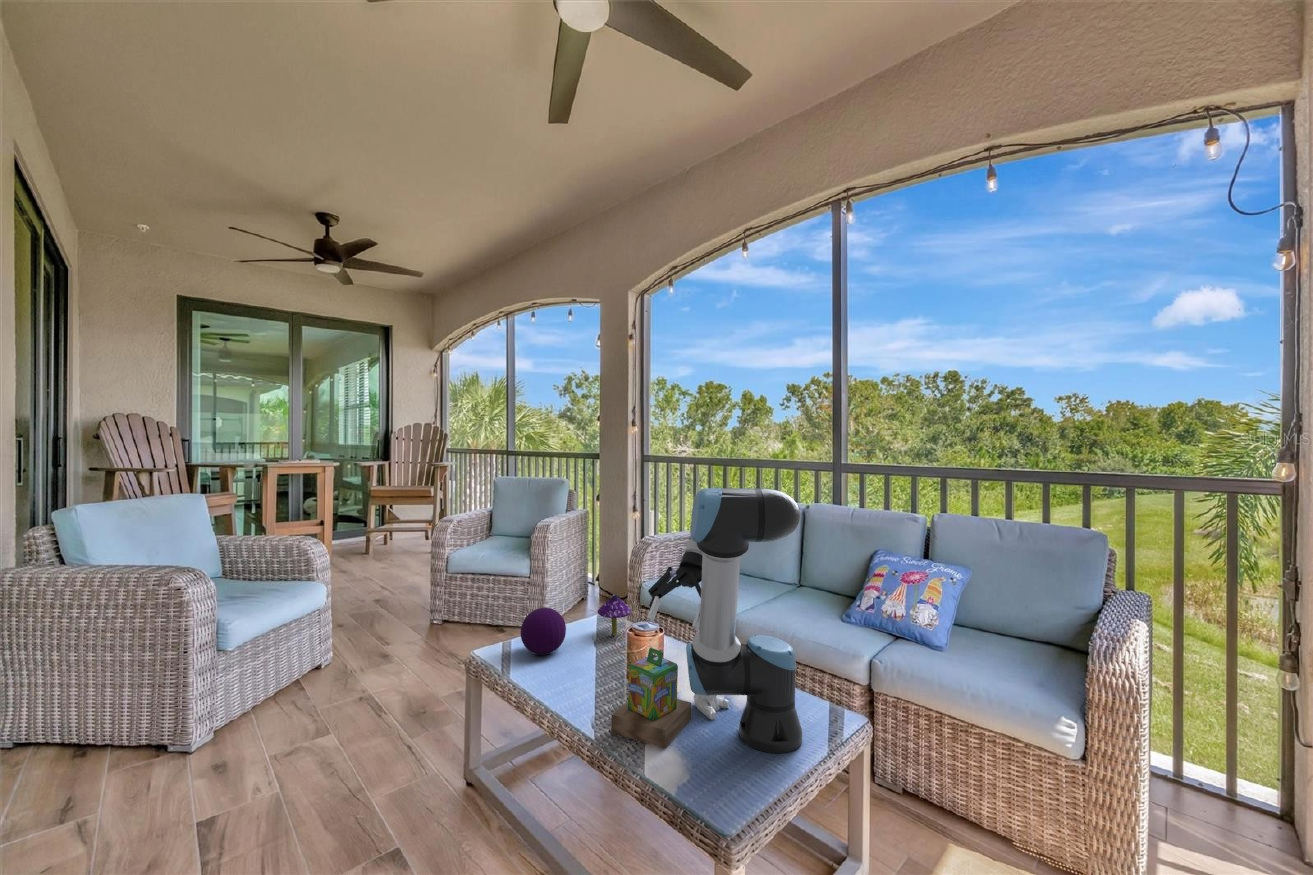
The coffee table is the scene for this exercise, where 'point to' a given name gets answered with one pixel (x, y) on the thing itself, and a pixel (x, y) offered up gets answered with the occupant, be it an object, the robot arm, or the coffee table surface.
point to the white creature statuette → (710, 704)
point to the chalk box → (653, 685)
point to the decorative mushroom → (614, 611)
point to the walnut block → (651, 724)
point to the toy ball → (543, 631)
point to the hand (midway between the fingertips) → (671, 624)
